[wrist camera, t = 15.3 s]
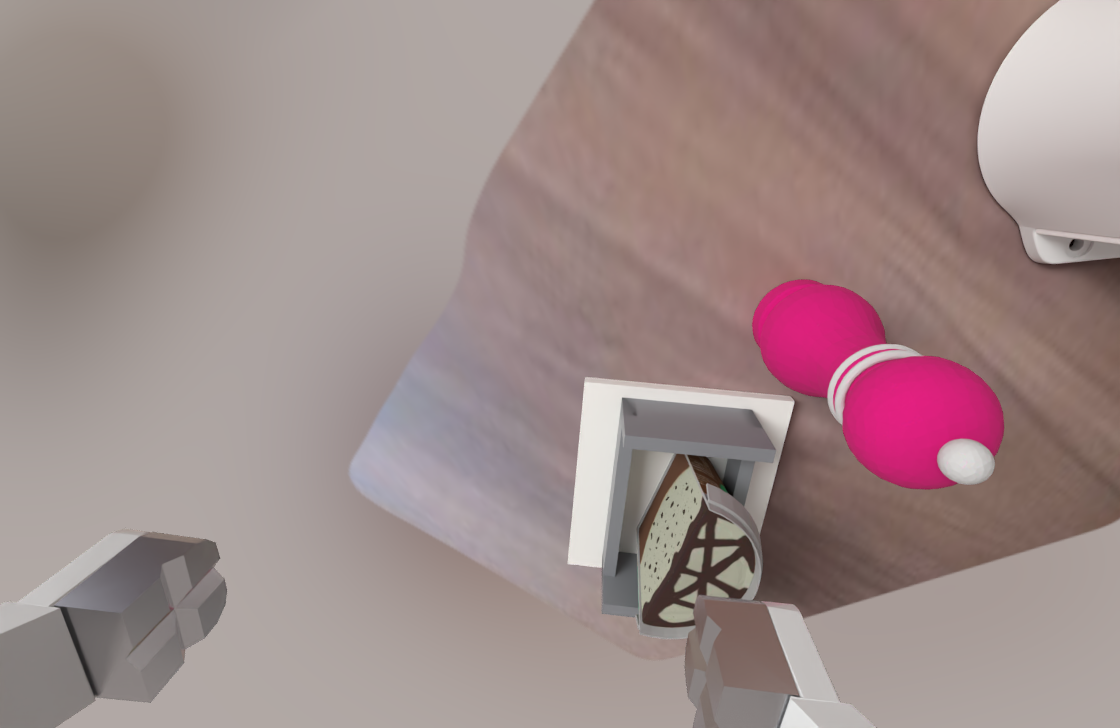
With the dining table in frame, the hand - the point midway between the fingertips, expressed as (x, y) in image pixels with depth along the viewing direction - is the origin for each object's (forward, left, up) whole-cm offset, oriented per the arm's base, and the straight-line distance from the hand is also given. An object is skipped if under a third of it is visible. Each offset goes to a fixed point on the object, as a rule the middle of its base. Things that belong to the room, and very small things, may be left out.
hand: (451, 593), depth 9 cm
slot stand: (-10, +18, -31) cm, 37 cm away
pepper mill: (-17, +3, -31) cm, 36 cm away
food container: (-12, +18, -30) cm, 37 cm away
